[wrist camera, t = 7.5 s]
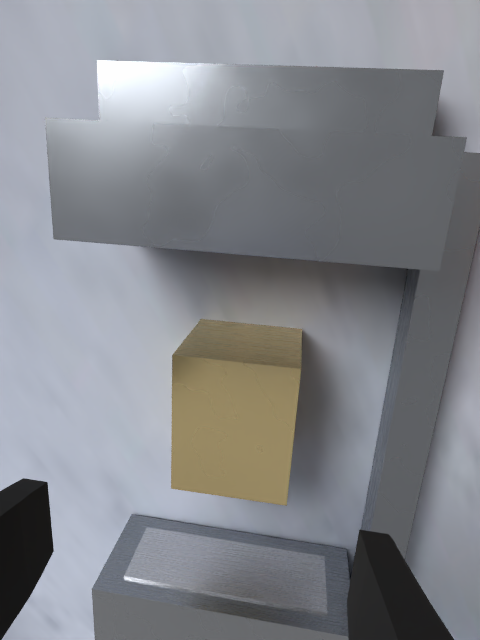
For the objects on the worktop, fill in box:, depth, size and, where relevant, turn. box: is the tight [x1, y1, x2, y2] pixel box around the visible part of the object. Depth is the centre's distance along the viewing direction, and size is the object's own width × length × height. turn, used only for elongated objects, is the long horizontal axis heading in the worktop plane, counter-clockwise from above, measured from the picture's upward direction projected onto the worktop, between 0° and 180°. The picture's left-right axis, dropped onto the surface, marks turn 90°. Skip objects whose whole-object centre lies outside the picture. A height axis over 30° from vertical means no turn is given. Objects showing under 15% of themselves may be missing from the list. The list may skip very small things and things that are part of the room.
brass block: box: [171, 319, 302, 506], centre depth 16 cm, size 4×5×4 cm
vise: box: [45, 60, 480, 560], centre depth 16 cm, size 12×28×5 cm, turn 176°
